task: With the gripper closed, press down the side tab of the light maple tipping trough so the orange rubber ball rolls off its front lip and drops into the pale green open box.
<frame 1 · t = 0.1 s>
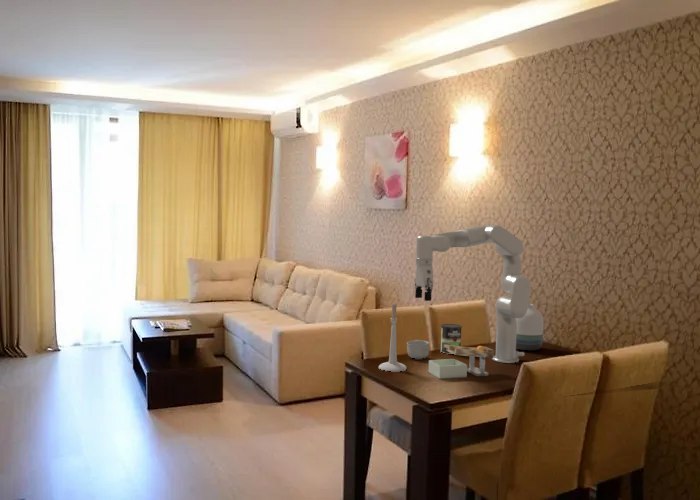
hand: (423, 299, 273), 31 cm above the table, tool pointing down, fingers open, 9 cm apart
lever stand: (476, 372, 263), on the table
coffee can: (450, 353, 302), on the table
candlestick: (392, 368, 268), on the table
lever: (466, 348, 265), point 10 cm above the table, hinge at -7.0°, touching ball
pale green open box: (447, 374, 259), on the table
teacup: (417, 357, 290), on the table
ball: (480, 349, 263), point 10 cm above the table, tilted 15°, touching lever
vase: (525, 349, 314), on the table
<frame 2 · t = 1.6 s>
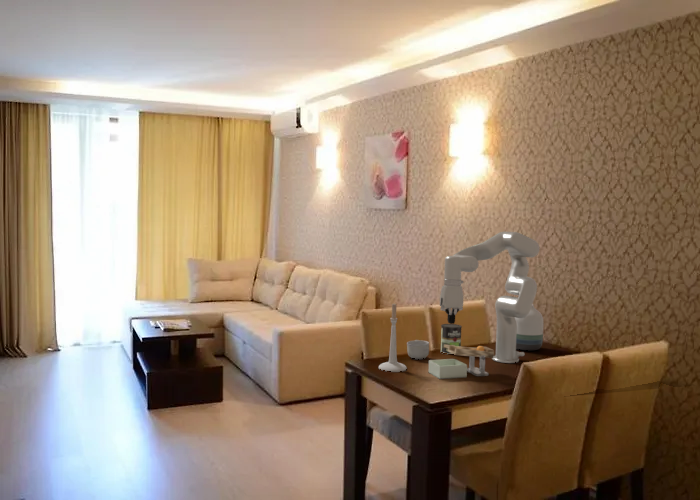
hand: (451, 323, 268), 21 cm above the table, tool pointing down, fingers closed
nothing on the table moved.
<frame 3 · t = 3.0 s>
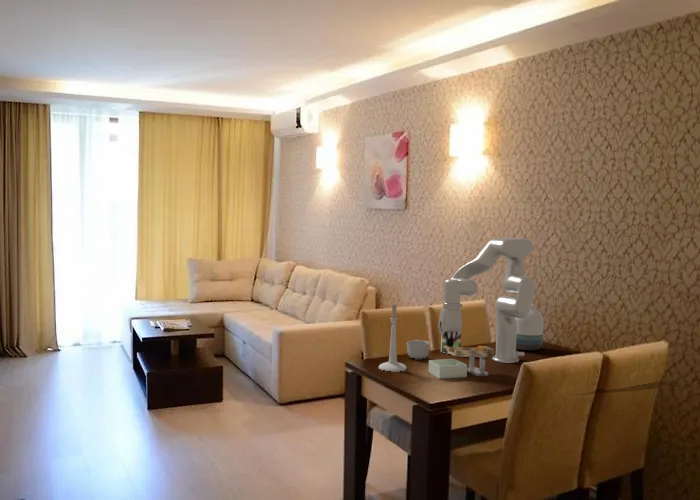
hand: (449, 346, 269), 10 cm above the table, tool pointing down, fingers closed
lever: (466, 349, 265), point 10 cm above the table, hinge at -4.1°, touching ball, gripper
everything else where it was.
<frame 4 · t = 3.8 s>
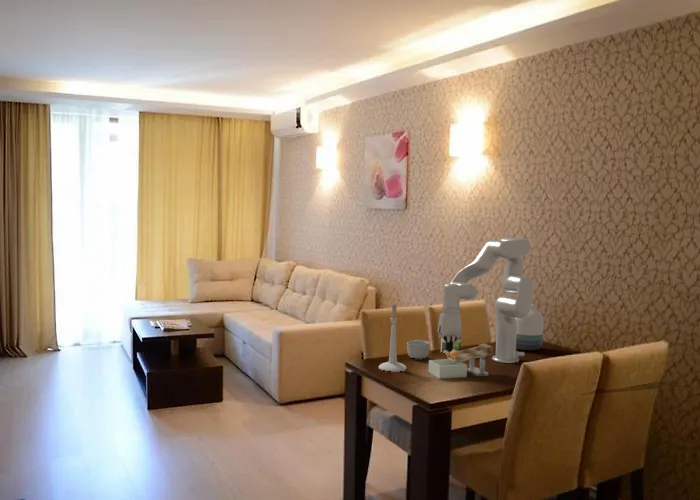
hand: (449, 350, 269), 8 cm above the table, tool pointing down, fingers closed
lever: (465, 350, 265), point 9 cm above the table, hinge at 8.4°, touching ball, gripper
ball: (453, 354, 259), point 9 cm above the table, tilted 55°, touching lever
everything else where it was.
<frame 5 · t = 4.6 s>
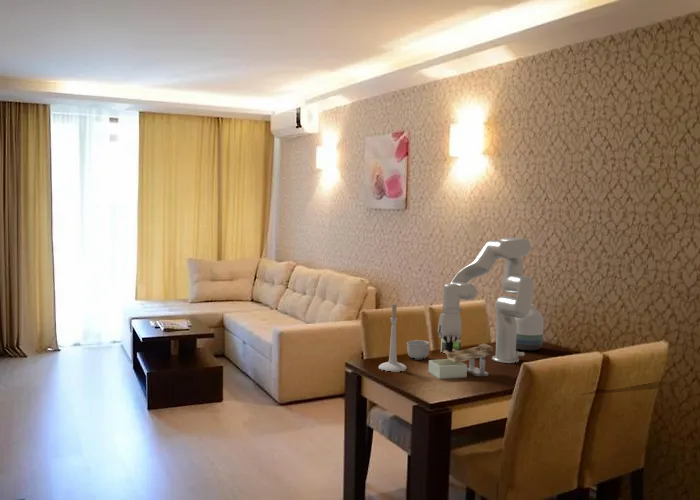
hand: (449, 350, 269), 8 cm above the table, tool pointing down, fingers closed
lever: (465, 350, 265), point 9 cm above the table, hinge at 8.5°, touching gripper
ball: (449, 369, 259), point 2 cm above the table, tilted 126°, touching pale green open box
everything else where it was.
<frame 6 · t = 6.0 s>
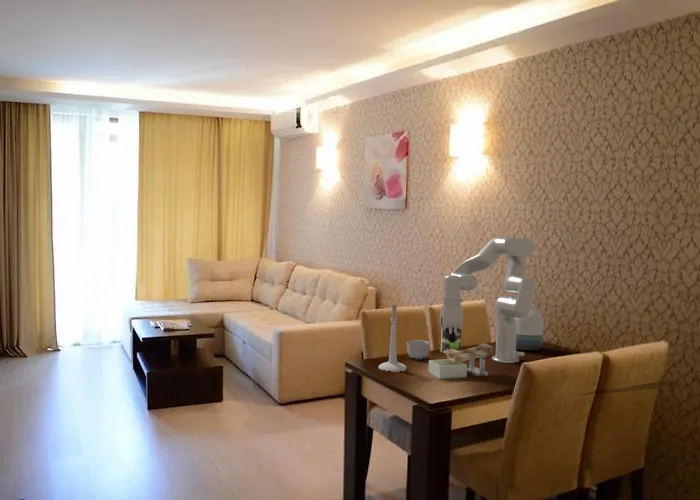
hand: (451, 341, 269), 12 cm above the table, tool pointing down, fingers closed
lever: (465, 350, 265), point 9 cm above the table, hinge at 8.5°
ball: (452, 369, 259), point 2 cm above the table, tilted 69°, touching pale green open box
everything else where it was.
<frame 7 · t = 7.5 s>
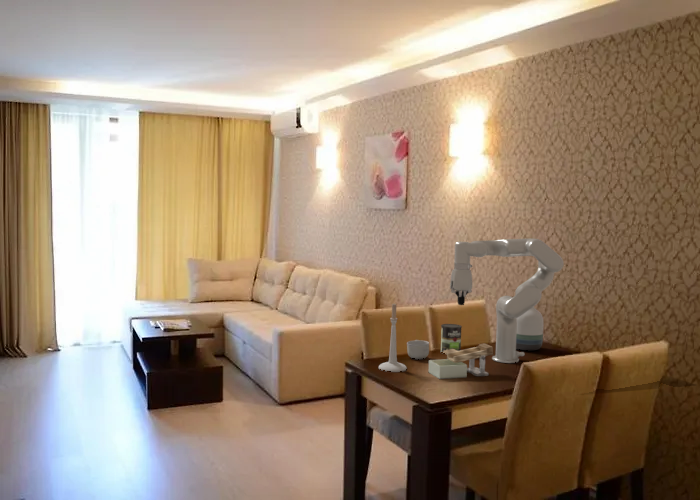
hand: (460, 304, 286), 27 cm above the table, tool pointing down, fingers closed
ball: (447, 369, 259), point 2 cm above the table, tilted 159°, touching pale green open box
everything else where it was.
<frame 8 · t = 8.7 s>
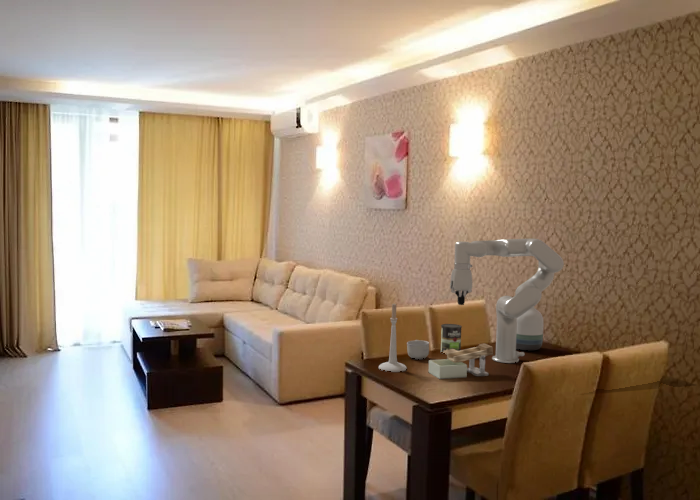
hand: (460, 304, 286), 27 cm above the table, tool pointing down, fingers closed
ball: (442, 370, 258), point 2 cm above the table, tilted 129°, touching pale green open box
everything else where it was.
at the end: ball inside the target area on the pale green open box (2.6 cm from its centre), point 2.2 cm above the pale green open box's base; lever at +8° (first picture: -7°) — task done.
